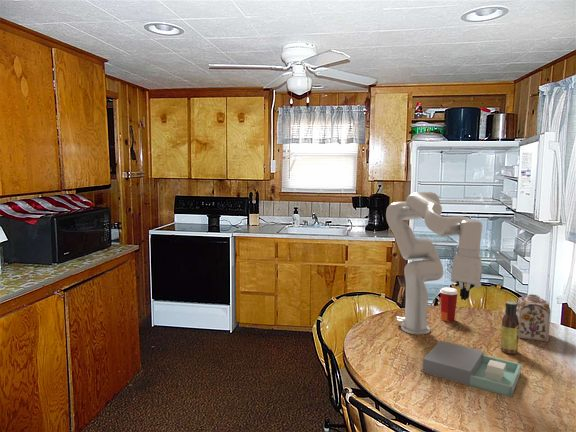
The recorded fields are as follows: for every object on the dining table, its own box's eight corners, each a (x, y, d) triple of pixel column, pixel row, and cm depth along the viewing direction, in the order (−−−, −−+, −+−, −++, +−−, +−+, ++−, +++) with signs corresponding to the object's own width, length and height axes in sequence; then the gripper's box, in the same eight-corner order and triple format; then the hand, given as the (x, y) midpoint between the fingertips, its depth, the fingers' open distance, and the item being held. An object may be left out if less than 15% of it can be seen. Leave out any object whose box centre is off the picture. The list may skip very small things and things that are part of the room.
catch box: (469, 385, 143) (470, 375, 143) (482, 363, 159) (483, 354, 159) (511, 397, 136) (511, 387, 135) (520, 373, 152) (521, 363, 152)
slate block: (422, 372, 152) (423, 358, 152) (439, 352, 169) (440, 340, 168) (469, 385, 143) (470, 371, 143) (482, 363, 159) (483, 350, 159)
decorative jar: (548, 342, 179) (551, 301, 177) (517, 338, 183) (520, 297, 181) (543, 332, 190) (546, 293, 188) (514, 328, 194) (516, 290, 192)
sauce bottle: (520, 355, 166) (523, 306, 164) (502, 354, 168) (505, 305, 165) (514, 348, 173) (517, 301, 170) (498, 347, 174) (501, 300, 172)
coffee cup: (457, 318, 207) (458, 288, 206) (456, 323, 200) (457, 292, 198) (439, 315, 211) (440, 286, 209) (437, 321, 203) (438, 290, 202)
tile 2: (501, 375, 144) (501, 382, 144) (504, 369, 148) (503, 376, 148) (485, 371, 147) (485, 378, 147) (488, 365, 151) (488, 372, 151)
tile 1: (503, 369, 143) (502, 376, 143) (505, 363, 147) (505, 370, 147) (487, 364, 146) (486, 371, 146) (490, 359, 150) (489, 366, 150)
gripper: (445, 251, 162) (441, 297, 165) (487, 257, 153) (482, 306, 156) (451, 247, 168) (447, 292, 171) (492, 254, 159) (487, 300, 162)
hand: (464, 298), depth 163 cm, fingers closed
